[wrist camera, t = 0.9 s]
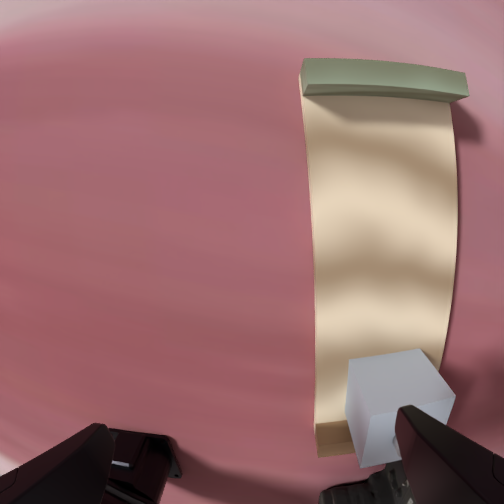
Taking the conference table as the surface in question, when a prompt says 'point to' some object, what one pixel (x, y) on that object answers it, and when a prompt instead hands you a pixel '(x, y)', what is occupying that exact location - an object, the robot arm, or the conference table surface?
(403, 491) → the camera
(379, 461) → the block
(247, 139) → the conference table surface
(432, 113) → the track
